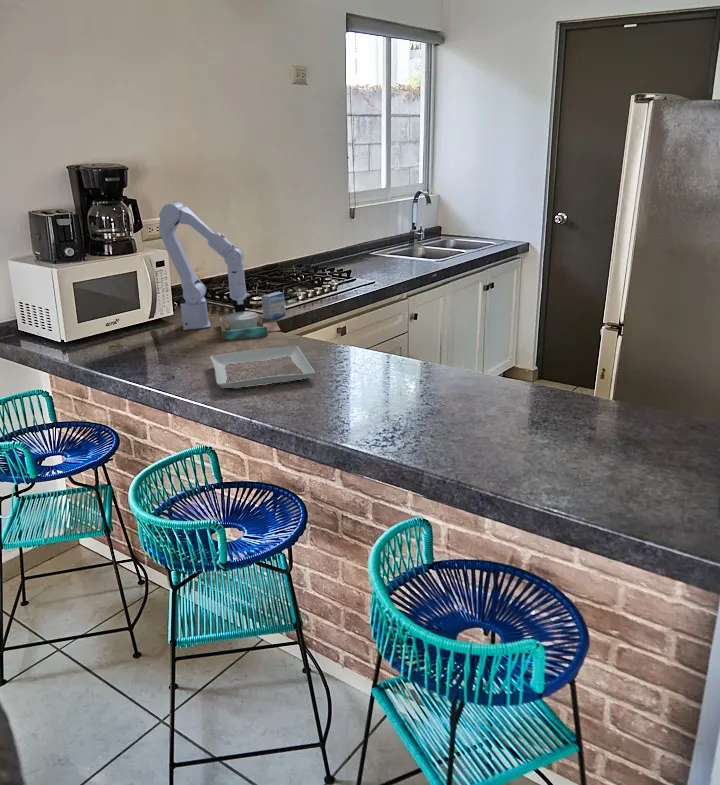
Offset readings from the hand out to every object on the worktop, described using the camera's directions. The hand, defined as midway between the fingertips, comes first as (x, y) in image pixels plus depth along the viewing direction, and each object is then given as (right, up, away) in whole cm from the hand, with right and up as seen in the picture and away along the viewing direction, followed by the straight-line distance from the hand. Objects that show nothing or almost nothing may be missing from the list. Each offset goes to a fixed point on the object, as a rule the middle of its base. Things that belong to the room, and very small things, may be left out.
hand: (240, 319), depth 257 cm
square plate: (+15, -21, -51) cm, 57 cm away
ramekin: (+2, -4, -6) cm, 8 cm away
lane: (+4, -4, -6) cm, 8 cm away
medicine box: (+11, +2, +10) cm, 15 cm away
